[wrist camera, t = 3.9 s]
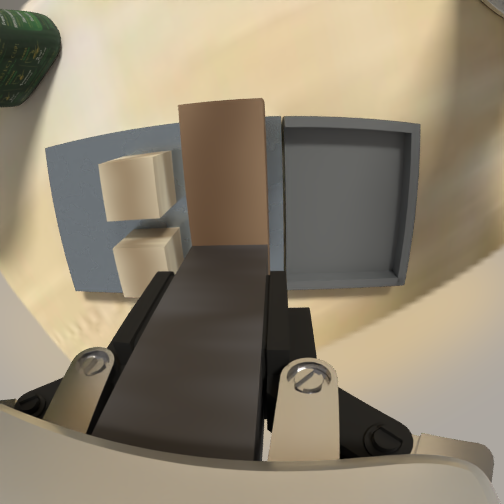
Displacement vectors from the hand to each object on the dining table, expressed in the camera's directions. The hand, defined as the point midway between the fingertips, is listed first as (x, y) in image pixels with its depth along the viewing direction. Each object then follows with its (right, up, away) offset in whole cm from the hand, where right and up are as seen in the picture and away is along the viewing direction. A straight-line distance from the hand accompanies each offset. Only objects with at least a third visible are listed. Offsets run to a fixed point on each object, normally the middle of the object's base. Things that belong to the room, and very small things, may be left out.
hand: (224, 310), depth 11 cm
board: (-7, +6, +15) cm, 18 cm away
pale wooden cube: (-7, +2, +14) cm, 16 cm away
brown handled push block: (0, +2, +4) cm, 5 cm away
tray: (+9, +6, +14) cm, 18 cm away
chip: (-7, +8, +12) cm, 16 cm away
